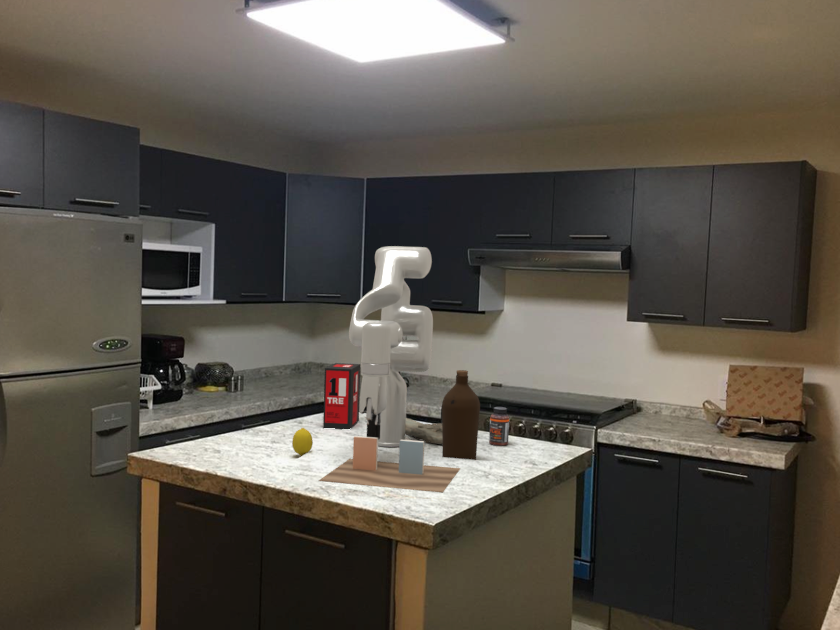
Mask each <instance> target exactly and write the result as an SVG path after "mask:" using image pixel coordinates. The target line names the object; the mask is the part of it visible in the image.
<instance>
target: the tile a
mask: <svg viewBox="0 0 840 630" xmlns="http://www.w3.org/2000/svg"><path fill="white" fill-rule="evenodd" d="M352 445H353V446H352V447H353V448H352V450H353V451H352V459H353V469H365V470H377V461H379V459H378V458H379V457H378V454H379V446H378V438H375V437H367V436H361V435H360V436H359V435H355V436H353V442H352Z"/></svg>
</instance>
